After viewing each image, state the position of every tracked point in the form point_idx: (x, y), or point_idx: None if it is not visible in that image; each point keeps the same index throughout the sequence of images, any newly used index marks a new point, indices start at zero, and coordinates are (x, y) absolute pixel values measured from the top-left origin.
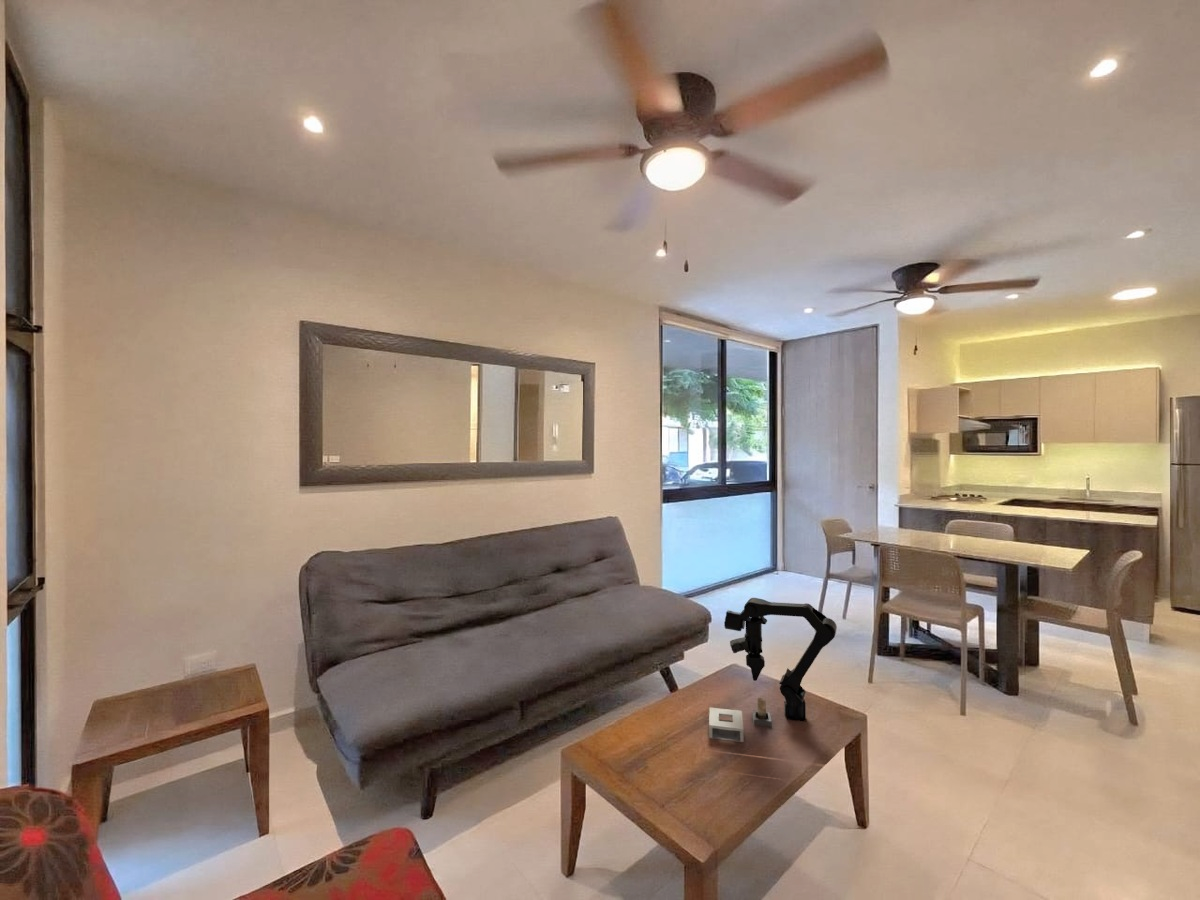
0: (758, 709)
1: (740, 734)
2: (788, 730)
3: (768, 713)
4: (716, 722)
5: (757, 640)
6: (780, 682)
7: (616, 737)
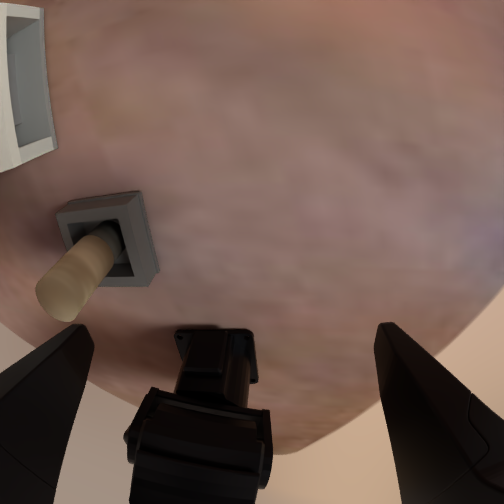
0: (66, 253)
1: None
2: (114, 321)
3: (134, 279)
4: None
5: None
6: (139, 460)
7: None
